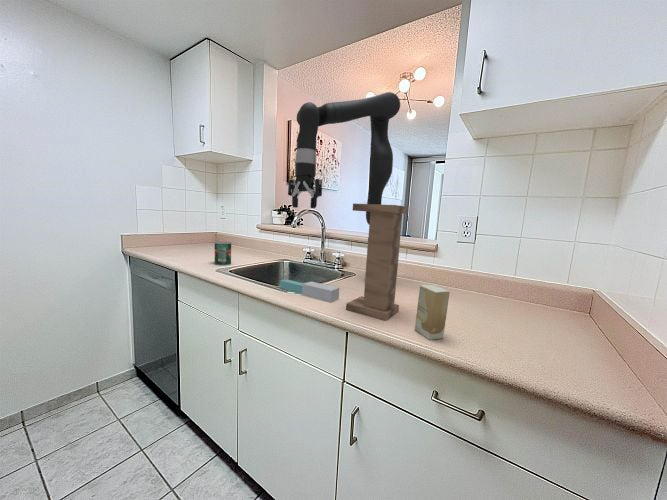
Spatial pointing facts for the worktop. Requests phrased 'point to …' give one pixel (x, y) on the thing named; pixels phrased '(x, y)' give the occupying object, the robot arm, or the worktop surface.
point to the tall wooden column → (380, 261)
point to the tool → (312, 290)
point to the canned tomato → (222, 253)
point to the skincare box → (431, 311)
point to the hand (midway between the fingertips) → (303, 207)
